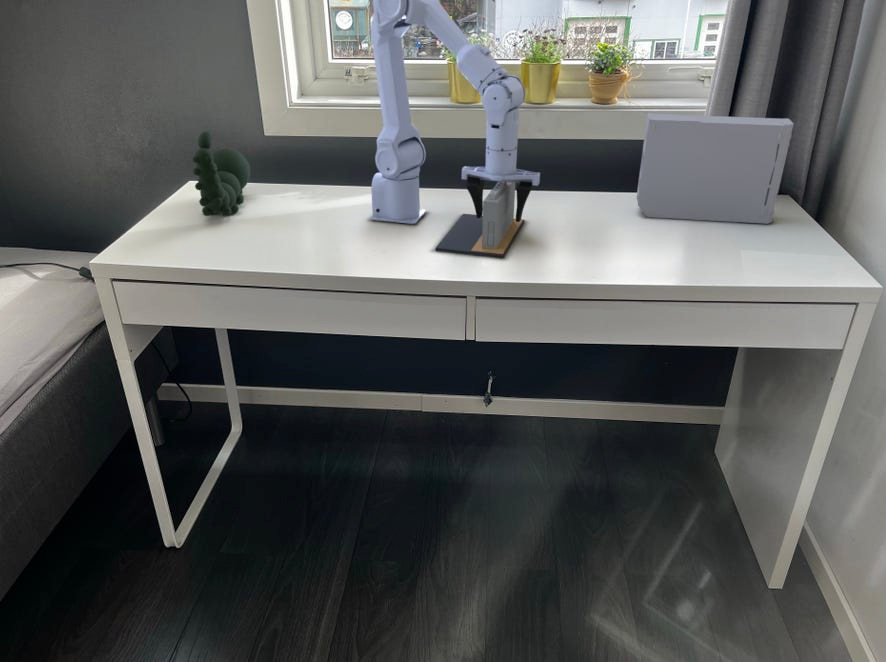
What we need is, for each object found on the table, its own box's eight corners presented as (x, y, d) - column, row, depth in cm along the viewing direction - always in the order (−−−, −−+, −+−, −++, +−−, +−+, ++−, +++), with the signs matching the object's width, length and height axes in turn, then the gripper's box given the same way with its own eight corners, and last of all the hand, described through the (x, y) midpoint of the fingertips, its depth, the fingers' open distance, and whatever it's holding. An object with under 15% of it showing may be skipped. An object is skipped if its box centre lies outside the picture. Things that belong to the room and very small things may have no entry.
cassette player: (500, 220, 154) (502, 171, 149) (513, 221, 153) (515, 172, 148) (481, 248, 141) (483, 195, 136) (496, 249, 140) (498, 197, 135)
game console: (773, 225, 154) (796, 125, 144) (636, 217, 158) (649, 119, 148) (767, 215, 159) (789, 118, 149) (635, 208, 163) (647, 113, 153)
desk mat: (435, 251, 142) (435, 247, 141) (463, 216, 158) (463, 213, 158) (503, 258, 138) (503, 255, 138) (524, 222, 155) (524, 219, 155)
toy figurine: (238, 233, 154) (260, 185, 174) (223, 141, 143) (247, 102, 163) (191, 233, 153) (218, 185, 174) (172, 142, 142) (203, 102, 163)
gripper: (457, 149, 137) (456, 221, 144) (536, 155, 134) (532, 229, 140) (467, 140, 143) (466, 209, 150) (543, 146, 140) (538, 216, 146)
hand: (498, 218), depth 146 cm, fingers open, 7 cm apart
